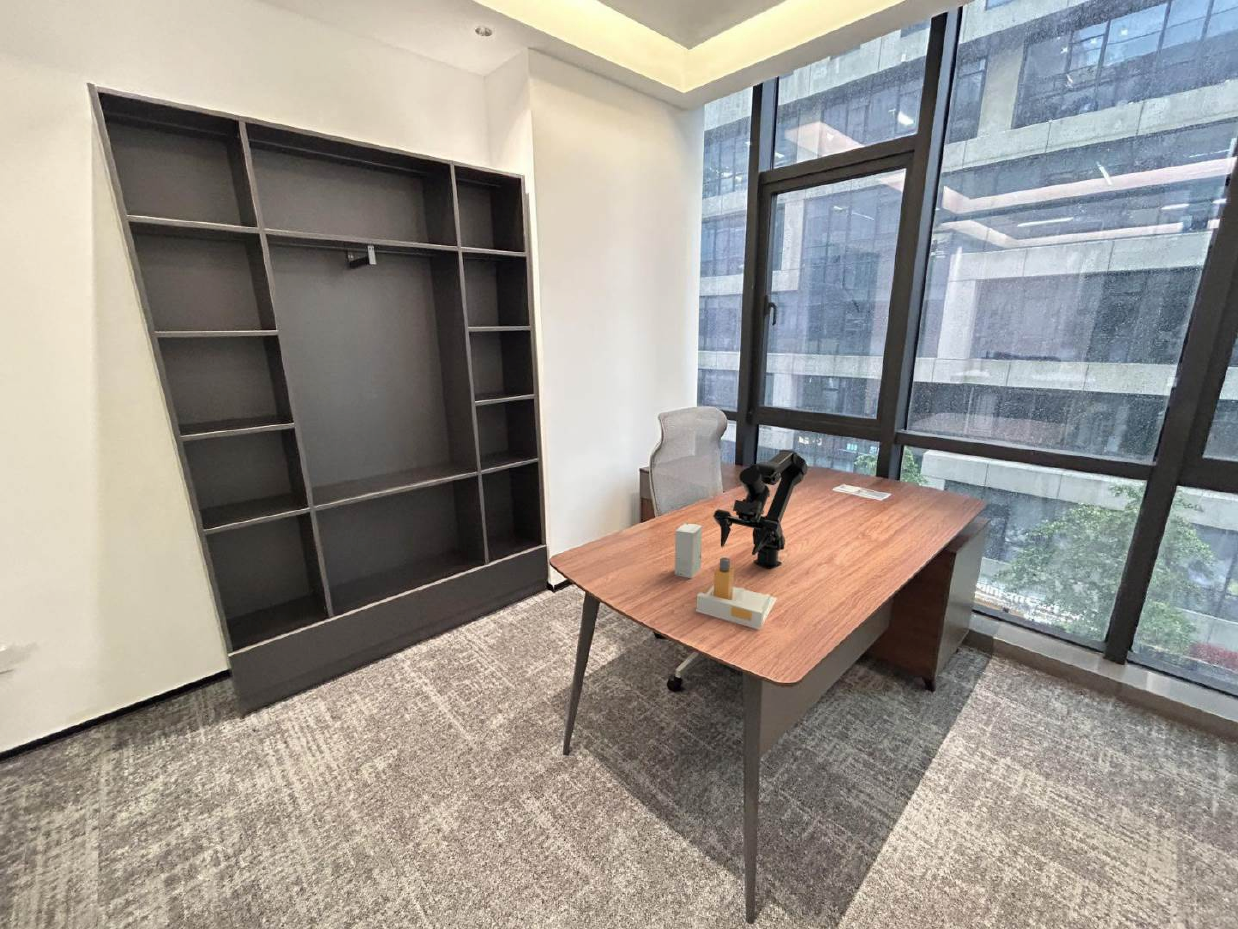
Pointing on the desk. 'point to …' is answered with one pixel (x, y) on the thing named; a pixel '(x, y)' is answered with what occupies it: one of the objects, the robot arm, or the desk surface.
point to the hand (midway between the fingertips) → (736, 550)
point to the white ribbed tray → (737, 606)
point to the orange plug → (724, 580)
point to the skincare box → (688, 550)
